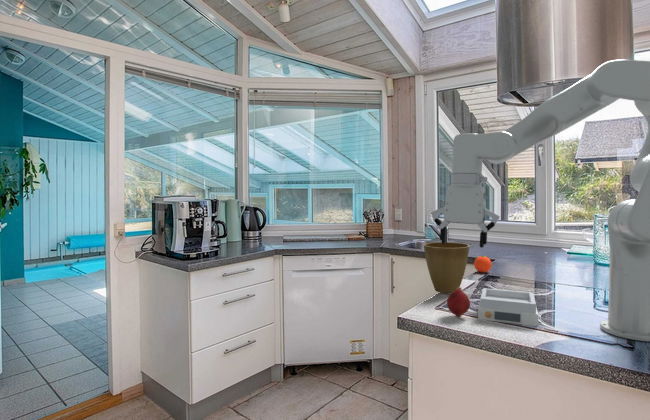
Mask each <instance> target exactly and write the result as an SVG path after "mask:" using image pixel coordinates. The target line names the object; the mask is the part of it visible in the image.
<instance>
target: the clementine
mask: <svg viewBox="0 0 650 420" xmlns="http://www.w3.org/2000/svg"><path fill="white" fill-rule="evenodd" d="M473 264H474V265H473V266H474V268H475V270H476V271H477V272H479V273H482V274H483V273H487V272H490V271H491V269H492V266H493V265H492V260H491V259H490V258H489V256H485V255H480V256H478V257H476V258H475V260H474V262H473Z"/></svg>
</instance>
